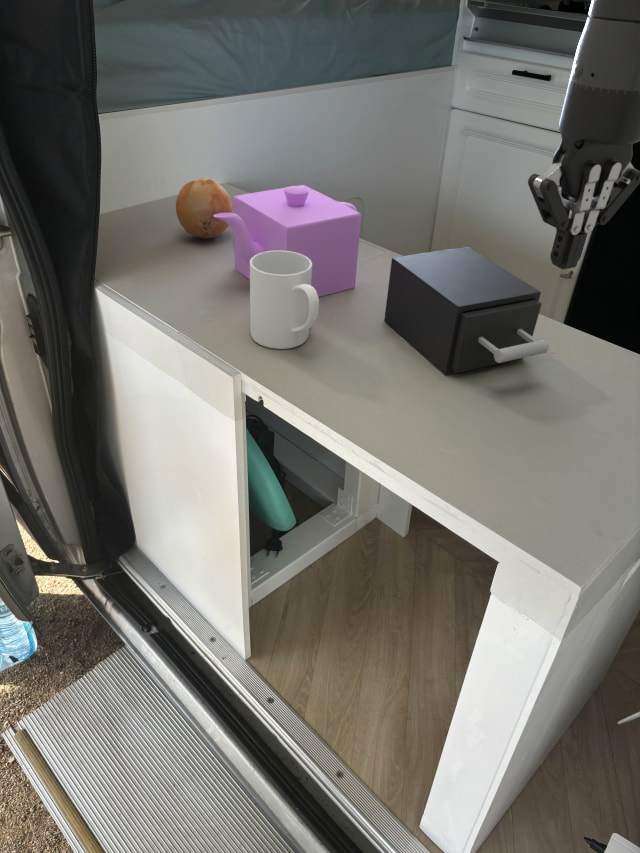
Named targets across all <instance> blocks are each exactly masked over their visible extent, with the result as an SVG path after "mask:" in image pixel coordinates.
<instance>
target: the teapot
mask: <svg viewBox="0 0 640 853" xmlns="http://www.w3.org/2000/svg"><path fill="white" fill-rule="evenodd" d="M232 207H233V211H232V213H218V214H215V215H213V216H214V217H216V218H219V219H221V220H223V221H225V222H226V223H227V224H229V226H228V227H229V228H230V229H231V231H232V234H233V250H234V251H233V252H234V253H233V254H234V269H235V270H236V271H237V272H238V273H240V274H241V275H243V276H244V277H245V278H246V279H248V280H249V281H250V260H251V258H252V257H254V256H255V255H257V254H259V253H262V252H266V251H278V250H282V251H291V252H296V253H299V254H302V255H304V256H306V257H308V258H309V259H310V260H311V262H312V277H311V286H312V287H314V289H315V290H316V292H317V294H318V298H320V297H324V296H328V295H329V296H330V295H332V294H336V293H340V292H343V291H348V290H352V289H354V288H356V280H357V270H358V269H357V267H358V256H359V245H360V236H361V225H362V224H361V223H362V214H361V213H360V212H359V211H357V210H358V209H357V208H356V206H355V205H354V204H352V203H350V202H347V201H337V200H335V199H333V198H331V197H329V196H327V195H325V194H323V193H322V192H319V191H317V190H315V189H313V188H312V187H309V186H307V185H305V184H300V185H290V186H287V187H281V188H275V189H269V190H268V189H267V190H263V191H256V192H250V193H249V192H248V193H244V194H243V193H242V194H238V195H237V194H236V195H233V196H232Z"/></svg>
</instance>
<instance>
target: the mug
mask: <svg viewBox="0 0 640 853" xmlns="http://www.w3.org/2000/svg"><path fill="white" fill-rule="evenodd" d="M311 277H312V262H311V260H310V259H309V258H308V257H306V256H304V255H302V254H299V253H296V252H291V251H282V250H278V251H266V252H262V253H259V254H257V255H255V256H254V257H252V258H251V260H250V280H249V309H250V310H249V312H250V313H249V316H250V317H249V318H250V320H249V322H250V336H251V339H253V341H254V343H257V344H258V345H260V346H262V347H265V348H269V349H273V350H274V349H275V350H287V349H292V348H293V349H294V348H297V347H299V346H301V345H302V344H304V343H306V342H307V340H308V339H309V335H310V328H312V327H313V325H314V324H315V323H316V321H317V319H318V315H319V311H320V297H318V294H317V292H316V290H315V289H314V287H312V286H311Z"/></svg>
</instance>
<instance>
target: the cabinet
mask: <svg viewBox="0 0 640 853" xmlns="http://www.w3.org/2000/svg"><path fill="white" fill-rule="evenodd" d="M389 271H390V272H389V279H388V288H387V295H386V303H385V311H384V319H383V320H384V322H385V323H386V324H387V325H388V326H389V327H390V328H392V330H394V331H395V332H396V333H397V334H398V335H399V336H400V337H401V338H403V339H404V340H405V341H406V343H408V344H409V345H410V346H412V347H413V348H414V349H415V350H416V351H417V352H419V353H420V355H422V356H423V357H424V358H425V359H426V360H427V361H428V362H429V363H431V365H433V366H434V367H435V368H436V369H437V370H438V371H439V372H440V373H442V374H443V376H448V375H453V374H456V373H455V372H454V371H453V370H451V363H452V359H453V354H454V349H455V344H456V339H457V334H458V329H459V324H460V319H461V314H462V313H463V312H465V311H470V310H475V309H481V308H486V307H491V306H497V305H502V304H507V303H513V302H518V301H523V302H525V301H530V300H537V301H539V300H540V298H541V293H542V291H540V290H539V289H537V288H536V287H534V286H532V285H531V284H529V283H528V282H526V281H525V280H523V279H521V278H520V277H518V276H516V275H515V274H513V273H512V272H510V271H508V270H506V269H505V268H503V267H502V266H500V265H498V264H497V263H495V262H494V261H492V260H490V259H488V258H487V257H485V256H484V255H482V254H480V253H479V252H477V251H476V250H475V249H472V248H471V247H469V246H464V247H457V248H449V249H444V250H443V249H442V250H436V251H428V252H421V253H420V252H419V253H414V254H413V253H412V254H408V255H407V254H406V255H401V256H400V255H399V256H392V257H391V264H390V270H389ZM539 302H540V301H539Z"/></svg>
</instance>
